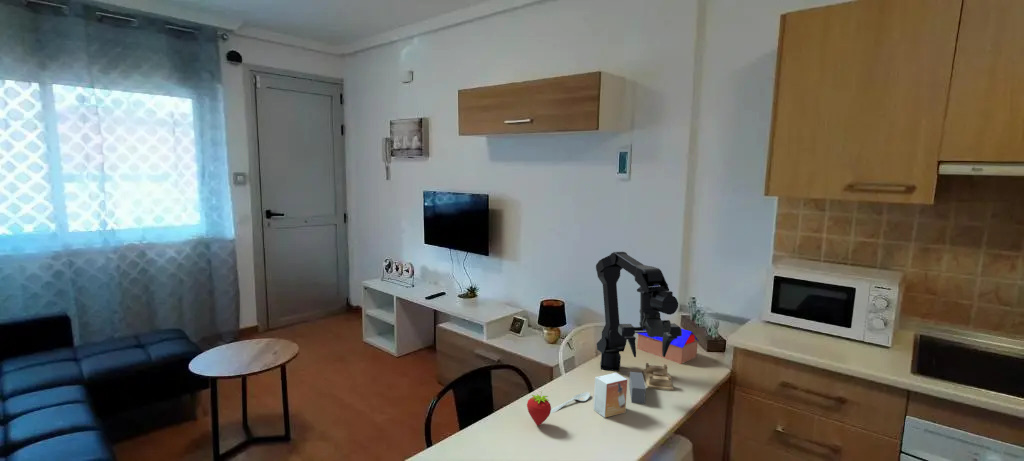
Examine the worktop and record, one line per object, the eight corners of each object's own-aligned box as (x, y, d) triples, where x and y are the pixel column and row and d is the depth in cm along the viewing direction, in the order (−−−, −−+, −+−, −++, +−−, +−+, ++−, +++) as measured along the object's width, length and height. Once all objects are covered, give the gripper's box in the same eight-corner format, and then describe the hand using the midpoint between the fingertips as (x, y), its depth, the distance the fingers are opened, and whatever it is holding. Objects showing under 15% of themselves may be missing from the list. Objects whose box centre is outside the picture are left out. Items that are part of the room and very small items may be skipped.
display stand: (647, 388, 159) (648, 378, 159) (643, 370, 173) (644, 361, 173) (672, 390, 158) (673, 380, 158) (666, 373, 172) (667, 363, 171)
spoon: (593, 399, 152) (594, 394, 152) (545, 419, 139) (546, 414, 139) (584, 394, 155) (584, 389, 155) (536, 413, 142) (536, 408, 142)
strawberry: (536, 416, 140) (537, 383, 139) (555, 426, 135) (556, 392, 133) (521, 422, 136) (522, 389, 135) (540, 434, 131) (541, 399, 129)
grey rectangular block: (631, 403, 150) (632, 387, 149) (629, 385, 161) (629, 371, 161) (644, 404, 149) (645, 389, 148) (641, 387, 161) (642, 372, 160)
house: (652, 342, 202) (654, 315, 201) (697, 357, 188) (699, 328, 186) (636, 349, 195) (637, 321, 193) (681, 365, 180) (683, 335, 178)
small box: (604, 418, 140) (606, 384, 138) (592, 409, 145) (594, 376, 143) (626, 412, 143) (628, 379, 142) (614, 404, 148) (615, 371, 147)
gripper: (626, 313, 144) (626, 365, 145) (688, 313, 144) (688, 364, 145) (617, 306, 155) (617, 354, 156) (675, 305, 155) (675, 353, 156)
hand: (649, 356), depth 153 cm, fingers open, 9 cm apart
